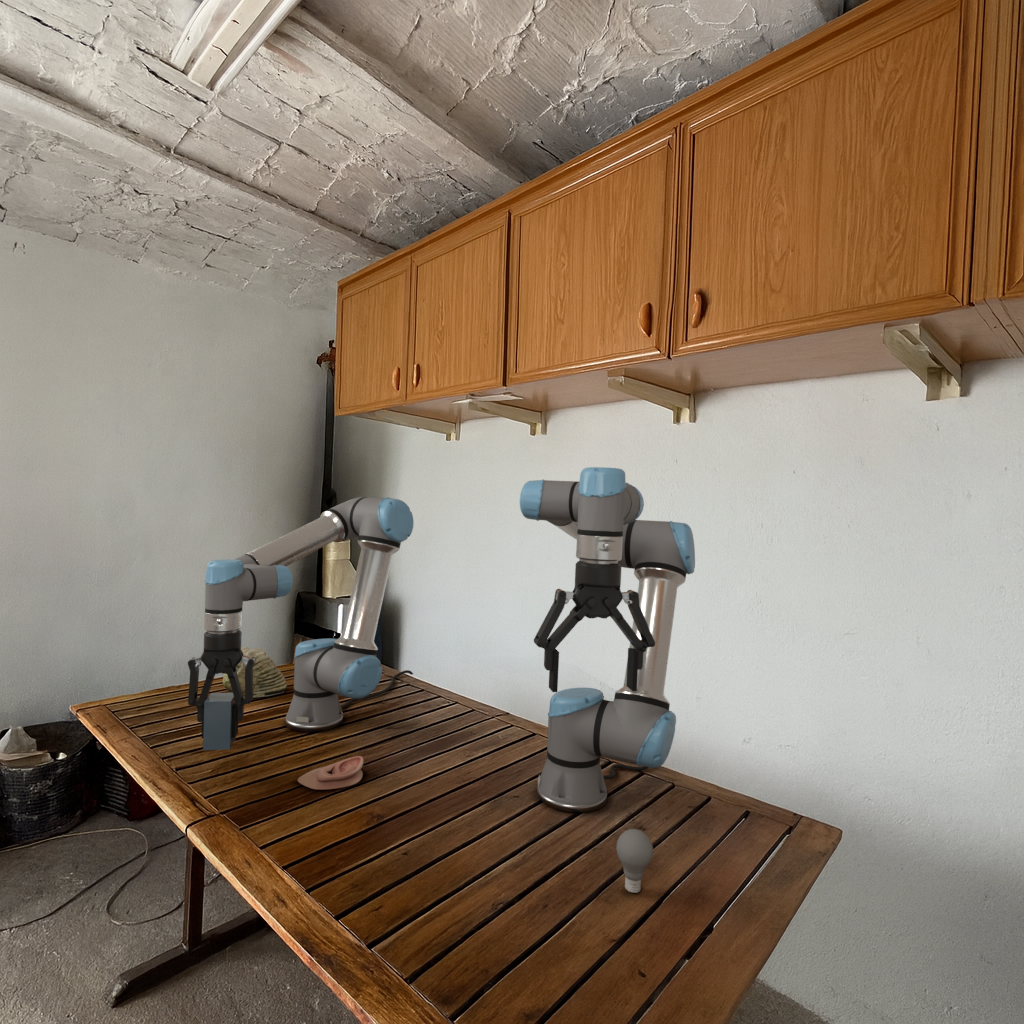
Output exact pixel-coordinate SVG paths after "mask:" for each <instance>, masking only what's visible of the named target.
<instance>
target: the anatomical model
mask: <svg viewBox="0 0 1024 1024" xmlns="http://www.w3.org/2000/svg"><path fill="white" fill-rule="evenodd" d="M363 766H364V757H363V756H361V755H356V756H352V757H347V758H346V759H342V760H340V761H336V762H334V763H331V764H328V765H326V766H322V767H318V768H315V769H312V770H310V771H308V772H306V773H304V774H302V775H300V776H299V777H298V778H297V782H298V784H300V785H302V786H304V787H306V788H309V789H312V790H319V791H321V790H333V789H335V790H336V789H342V788H346V787H350V786H353V785H356V784H358V783H359V782H360V781H361V780H362V779H363V775H364V773H363V771H362V768H363Z"/></svg>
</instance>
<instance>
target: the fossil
mask: <svg viewBox="0 0 1024 1024" xmlns="http://www.w3.org/2000/svg"><path fill="white" fill-rule="evenodd" d="M241 651H242V653H243V656H247V657H250V658H251V657H255V659H256V660H255V663H254V665H253V698H264V697H271V696H275V695H281V694H284V693H285V691H286V689H287V687H288V686H287V680H286V678H285V676H284V674H283V673H282V672H281V669H279V668H278V667H277V665H276V663H275V662H274V660H273V659H272V658H271V657H270V656H269V655H268V654H267V653H266V652H265V650H264V649H263V648H260V647H258V648H251V647H247V646H246V647H245V646H241ZM245 668H246V667H244V666H243V662H242V661H240V663H239V664H238V665H237V666H236V669H237V675H238V679H239V683H240V686H241V690H242V694H243V697H244V698H245ZM222 676H223V677H222V685H223V687H224V688H225V690H226V691H228V693H233V691H232V688H231V684H230V680H229V678H228V676H227V674H223V675H222Z"/></svg>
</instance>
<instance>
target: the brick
mask: <svg viewBox="0 0 1024 1024" xmlns="http://www.w3.org/2000/svg"><path fill="white" fill-rule="evenodd" d="M235 704H236V702H235V699H234V695H233V693H230V692H211V693H209V695H208V697H207V699H206V700H205V702H204V736H203V738H202V740H203V742H202V750H203V751H227V750H231V748H232V746H233V745H234V743H235V741H236V739H237V736H236V737H232V713H233V707H234V705H235Z"/></svg>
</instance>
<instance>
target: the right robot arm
mask: <svg viewBox="0 0 1024 1024" xmlns="http://www.w3.org/2000/svg"><path fill="white" fill-rule="evenodd" d="M644 506H645V501H644V497H643V494H642V492H641V491H640V490H639V489H638V488H637V487H635V486H634V485H632V484H630V483H629V482H626V472H625V470H624V469H622V468H617V467H603V466H591V467H585V468H583V469H582V470H581V472H580V475H579V481H577V480H576V481H573V480H548V479H547V480H546V479H538V480H537V479H536V480H534V479H533V480H528V481H526V482H525V483H524V484H523V486H522V487H521V491H520V495H519V508H520V512H521V514H522V516H523V517H524V518H525V519H527V520H532V521H533V520H534V521H536V522H539V521H546V522H548V523H550V524H551V525H554V526H555V527H556V528H558V529H560V530H561V531H562V532H564V533H566V534H567V535H568V536H570V537H572V538H573V539H574V540H576V547H575V548H576V549H575V558H577V559H578V561H576V563H575V569H574V571H575V573H574V588H573V590H572V591H569V590H563V589H562V588H557V589H555V592H554V599H553V603H552V604H551V606H550V608H549V610H548V612H547V614H546V616H545V618H544V619H543V620H542V623H541V625H540V627H539V629H538V631H537V632H536V634H535V635H534V638H533V643H534V644H535V645H536V646H537V647H538V648H541V649H543V651H544V653H543V654H544V655H543V666H544V670H546V671H548V672H549V673H548V689H549V690H550V691H551V692H552V693H554V694H552V695H551V697H550V699H549V707H548V708H549V709H548V712H547V717H548V719H547V742H546V743H547V747H546V760H545V763H544V765H543V768H542V771H541V773H540V774H539V775H538V777H537V785H536V796H537V798H538V800H539V801H540V802H541V803H543V804H544V805H546V806H547V807H549V808H552V809H554V810H558V811H562V812H567V813H575V814H578V813H579V814H581V813H590V812H594V811H597V810H599V809H601V808H603V807H604V806H605V805H606V803H607V801H608V789H607V784H606V782H605V780H613V779H615V778H616V776H617V772H616V770H615V769H623V770H629V771H633V772H642V771H646V770H648V769H649V768H652V769H657V768H660V767H662V766H663V765H664V764H665V762H666V761H667V758H668V757H669V754H670V752H671V749H672V745H673V742H674V737H675V733H676V725H677V716H676V714H675V712H673V711H672V710H670V706H671V702H670V701H669V699H668V698H667V697H666V695H665V686H666V678H667V672H668V665H669V664H668V663H669V656H670V648H671V641H672V633H673V625H674V617H675V611H676V610H675V609H676V602H677V595H678V589H679V587H681V586H682V585H683V584H685V582H686V581H687V575H691V574H694V572H695V569H696V551H695V550H696V548H695V540H694V534H693V531H692V528H691V526H690V525H689V524H688V523H685V522H679V521H678V522H677V521H672V520H669V521H667V520H666V521H665V520H664V521H663V520H647V519H638V518H640V517H641V515H642V513H643V511H644ZM622 568H624V569H633V575H634V577H635V578H636V579H637V580H638V587H637V591H636V590H632V589H627V591H621V585H622V584H621V583H622ZM570 600H572V601H573V603H574V604H575V605H574V607H573V608H572V609H571V610H570V611H569V614H567V616H566V617H565V618H564V619H563V620H562V622H561V623H560V624H559V625H558V626H557V627H556V629H555V630H554V631H553V629H554V628H555V626H556V623H557V622H558V620H559V618H560V616H561V615H562V613H563V610H564V609H565V605H568V603H569V602H570ZM622 602H624V604H626V605H627V607H628V610H629V612H630V615H631V618H632V619H633V621H632V627H631V625H630V624H629V623H628V621H627V620H626V619H625V617H624V615H623V614H622V613H621V612H620V610H619V609H618V606H620V604H621V603H622ZM585 617H586V618H587V619H596V618H600V619H608V618H609V617H610V618H611V619H612V621H613V622H614V623H615V625H616V626H617V627H618V629H619V630H620V631H621V632H622V633H623V635H624V636H625V638H626V639H627V640H628V642H629V647H628V648H627V659H626V660H627V661H626V666H625V667H626V668H625V673H624V678H623V679H624V680H623V685H622V687H620V688H619V689H617V690H616V691H615V693H614V698H613V701H612V700H607V699H605V695H604V693H603V692H602V690H600V689H597V688H595V687H594V688H593V687H571V688H565V689H561V690H558V687H559V686H558V685H559V684H558V683H559V665H560V664H559V663H560V651H558V649H557V647H559V645H560V644H561V643H562V642H563V640H564V639H565V638H566V637H567V636H568V634H569V633H570V632H571V631H572V630H573V629H574V628H575V627H576V626H577V624H578V623H579V622H581V621H582V620H583V619H584V618H585ZM552 631H553V632H552ZM601 758H605V759H610V760H612V761H619V762H622V763H625V764H622V763H616V764H612V765H611V766H610V768H609V769H610V772H611V774H605V775H604V773H603V770H602V766H601ZM628 764H631V765H628ZM633 765H635V766H633Z"/></svg>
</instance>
